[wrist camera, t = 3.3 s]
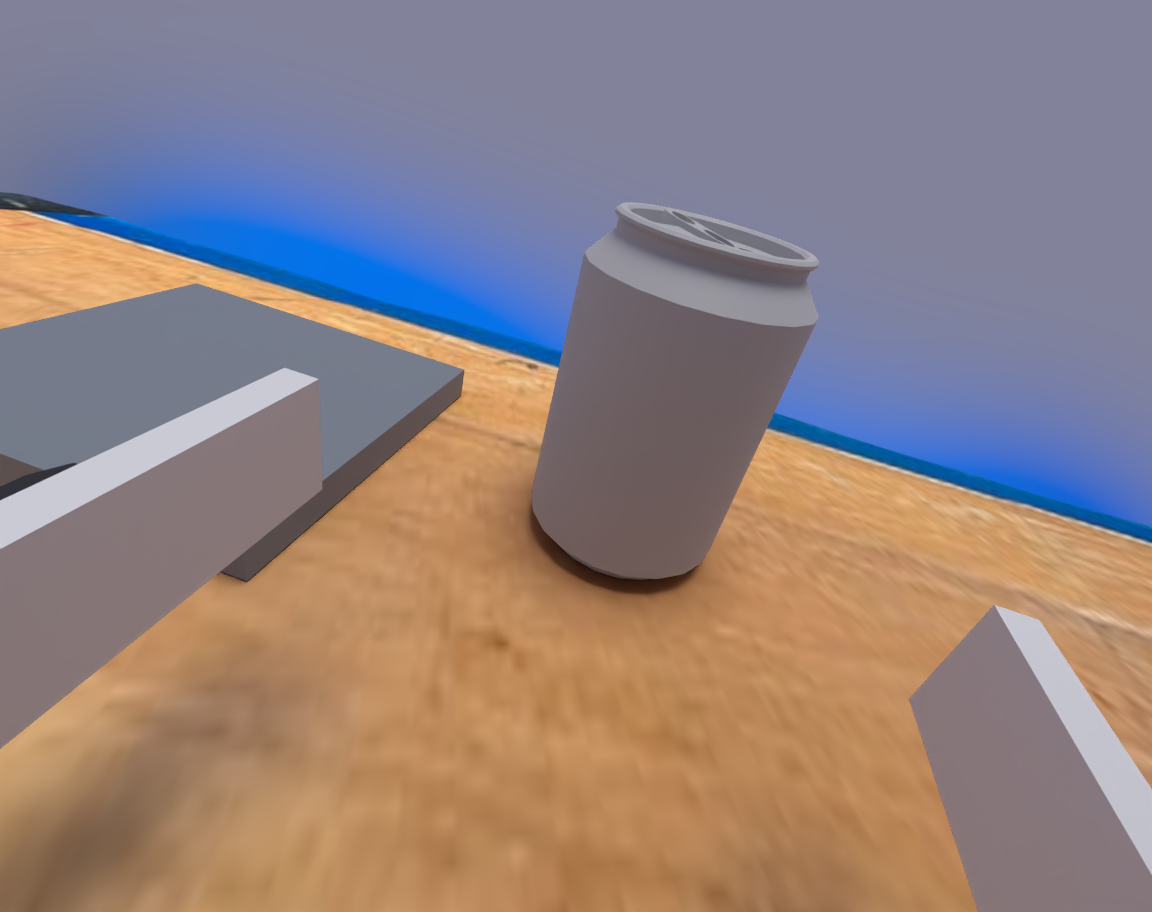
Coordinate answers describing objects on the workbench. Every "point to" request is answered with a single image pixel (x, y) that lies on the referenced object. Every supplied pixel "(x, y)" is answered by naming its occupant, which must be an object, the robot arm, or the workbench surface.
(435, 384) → the slate board
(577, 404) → the can
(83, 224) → the workbench surface
